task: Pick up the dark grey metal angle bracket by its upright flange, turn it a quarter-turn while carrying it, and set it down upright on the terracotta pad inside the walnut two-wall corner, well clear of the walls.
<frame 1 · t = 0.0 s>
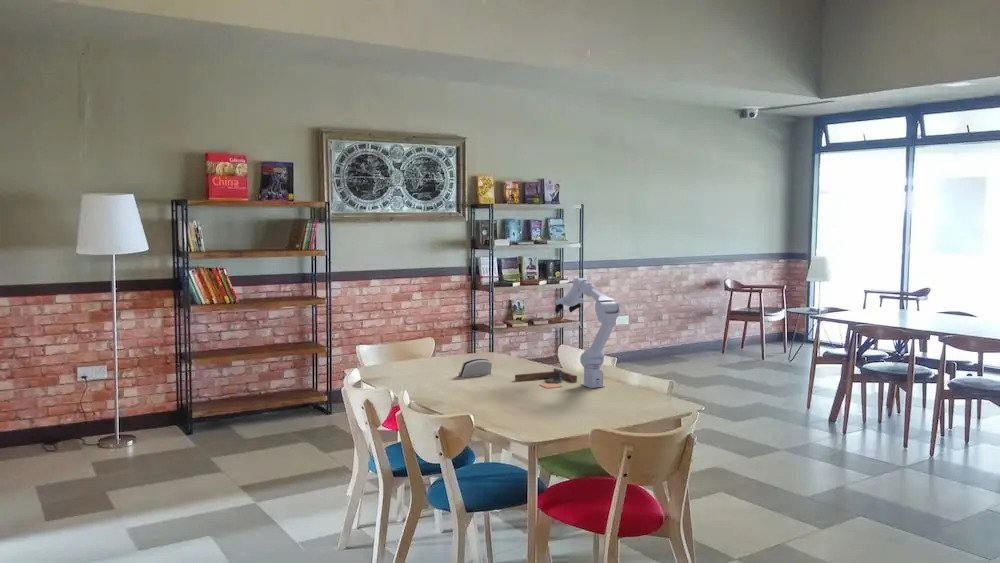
hand: (563, 311, 409), 32 cm above the table, tool tilted 50°, fingers open, 7 cm apart
grey curved-top block: (475, 376, 411), on the table
bracket: (557, 381, 396), on the table
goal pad: (550, 386, 386), on the table
brown wooden l-shape: (545, 381, 397), on the table
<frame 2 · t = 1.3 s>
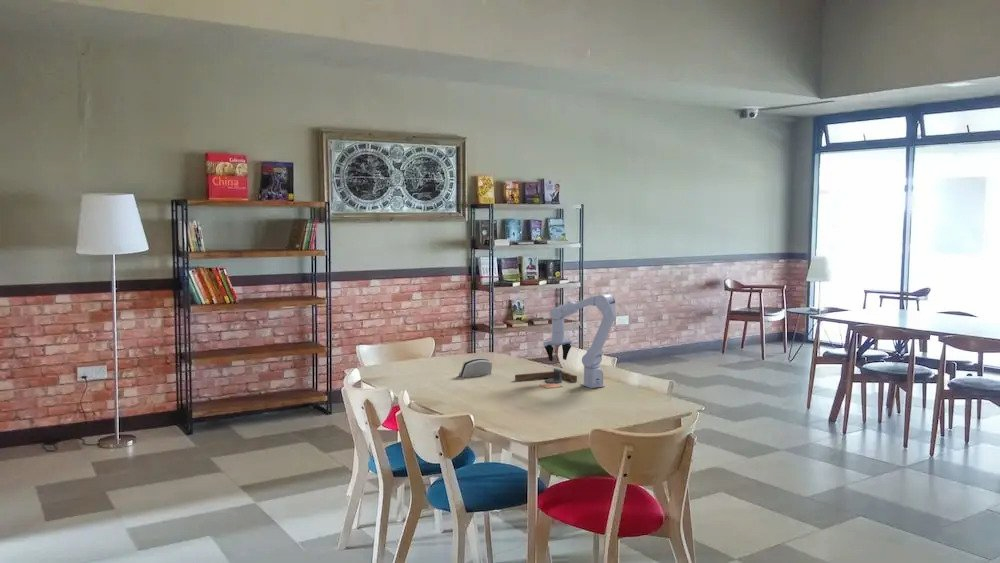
hand: (557, 360, 395), 10 cm above the table, tool pointing down, fingers open, 7 cm apart
nothing on the table moved.
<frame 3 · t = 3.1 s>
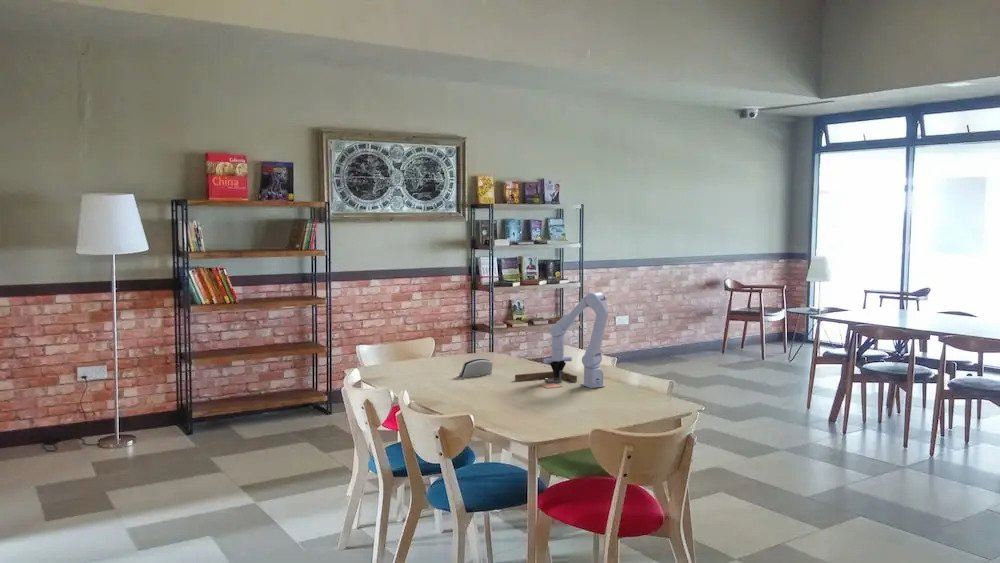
hand: (557, 376, 396), 2 cm above the table, tool pointing down, fingers closed on bracket
bracket: (557, 381, 396), on the table, touching gripper
everything else where it was.
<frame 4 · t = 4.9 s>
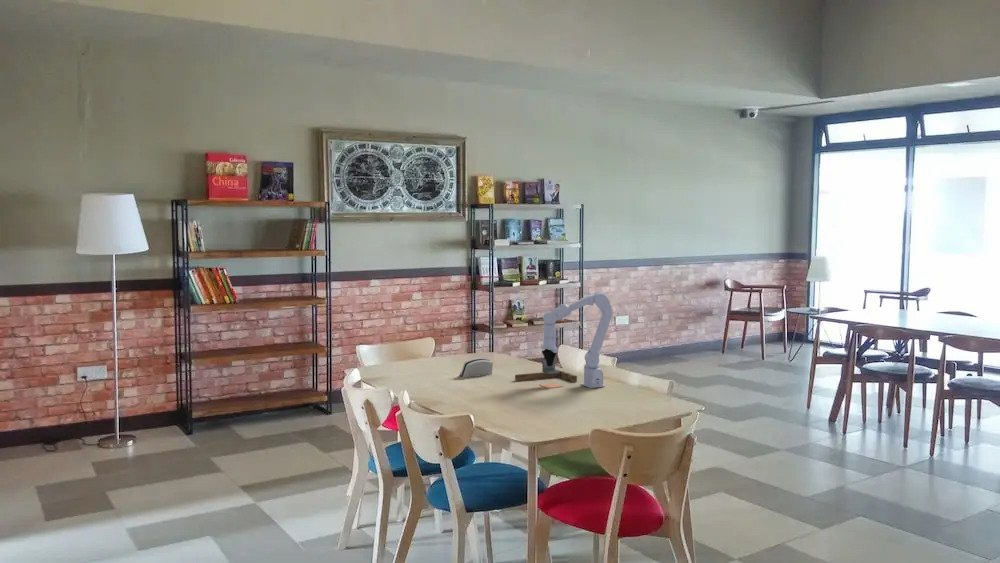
hand: (549, 365, 387), 9 cm above the table, tool pointing down, fingers closed on bracket
bracket: (548, 371, 387), point 6 cm above the table, touching gripper
everything else where it was.
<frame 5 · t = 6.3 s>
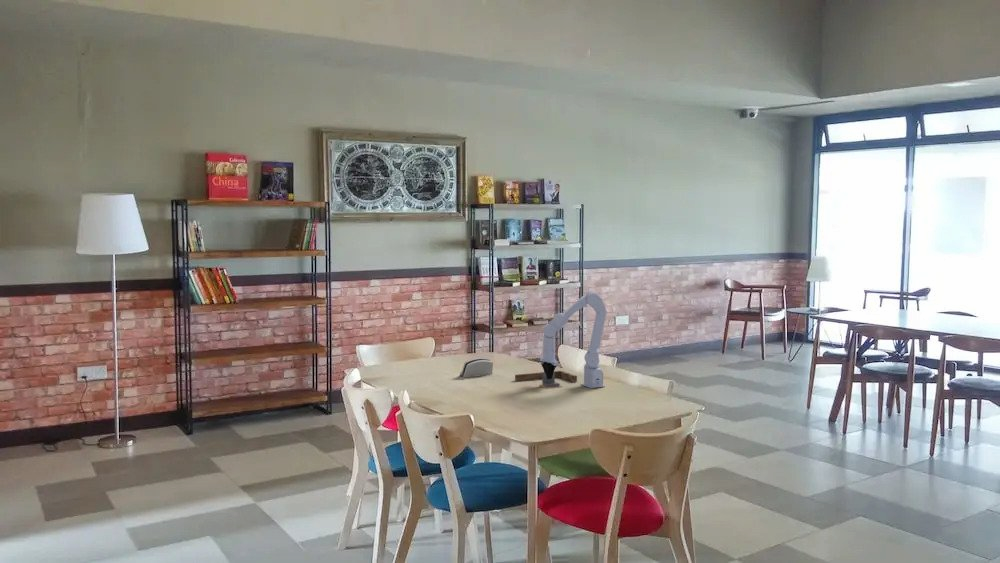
hand: (548, 378, 387), 3 cm above the table, tool pointing down, fingers closed on bracket
bracket: (548, 384, 387), resting on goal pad, touching gripper
everything else where it was.
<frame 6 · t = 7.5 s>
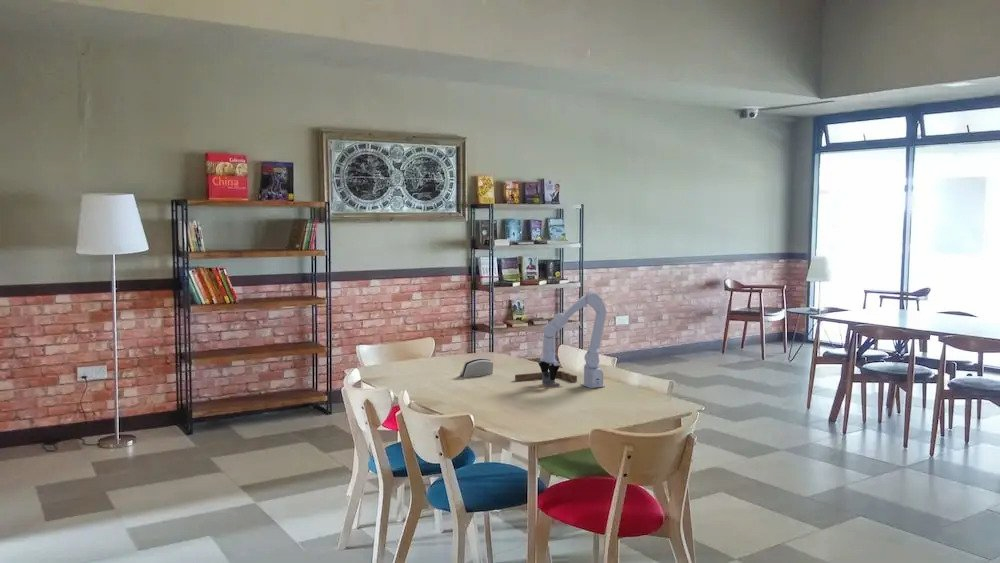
hand: (548, 378, 387), 3 cm above the table, tool pointing down, fingers open, 7 cm apart
bracket: (548, 384, 387), resting on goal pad
everything else where it was.
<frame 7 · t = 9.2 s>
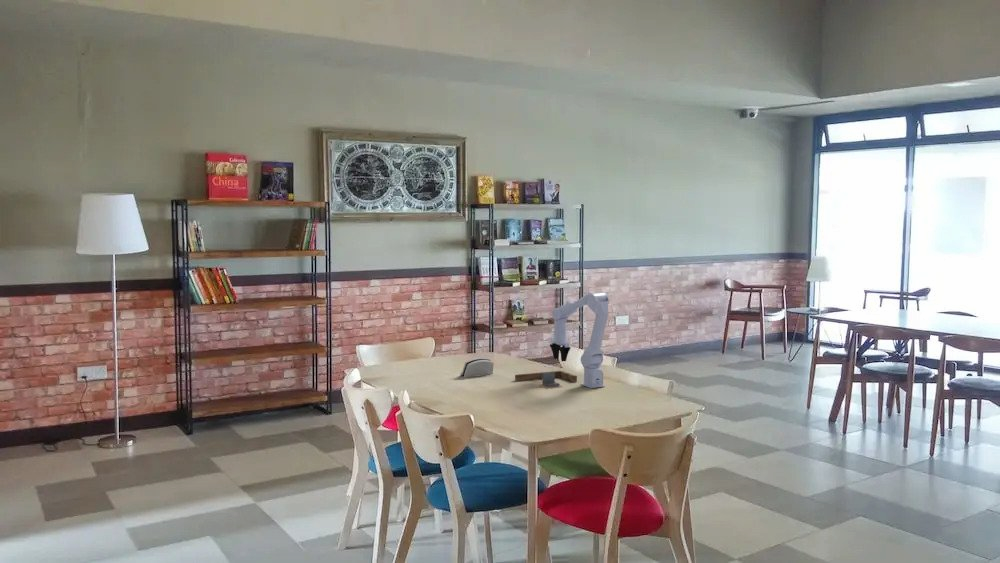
hand: (559, 359, 402), 9 cm above the table, tool pointing down, fingers open, 7 cm apart
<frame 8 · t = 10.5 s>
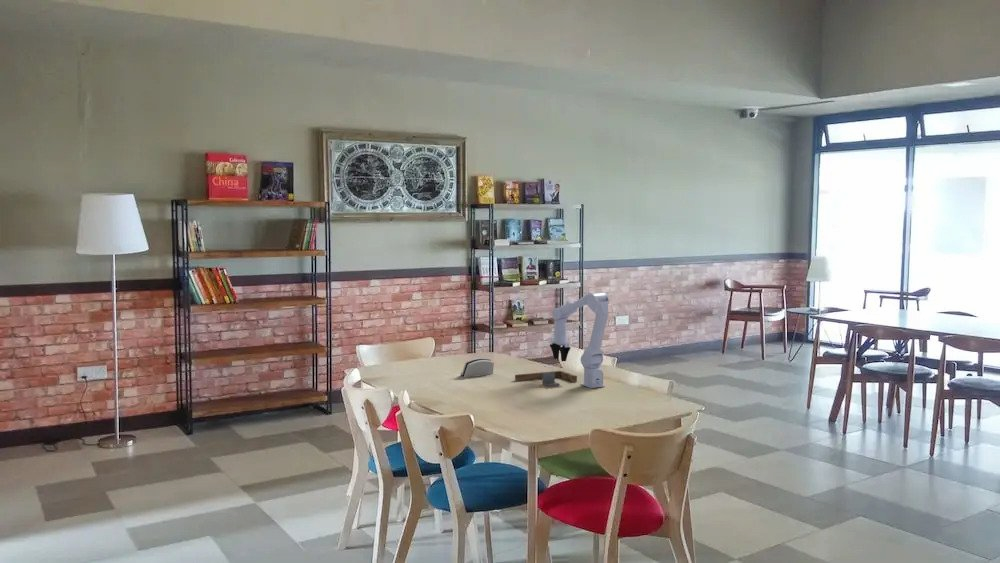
hand: (559, 359, 402), 9 cm above the table, tool pointing down, fingers open, 7 cm apart
at the end: bracket 0.2 cm from the target spot, resting on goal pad; bracket tilted 0°; bracket touching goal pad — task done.
